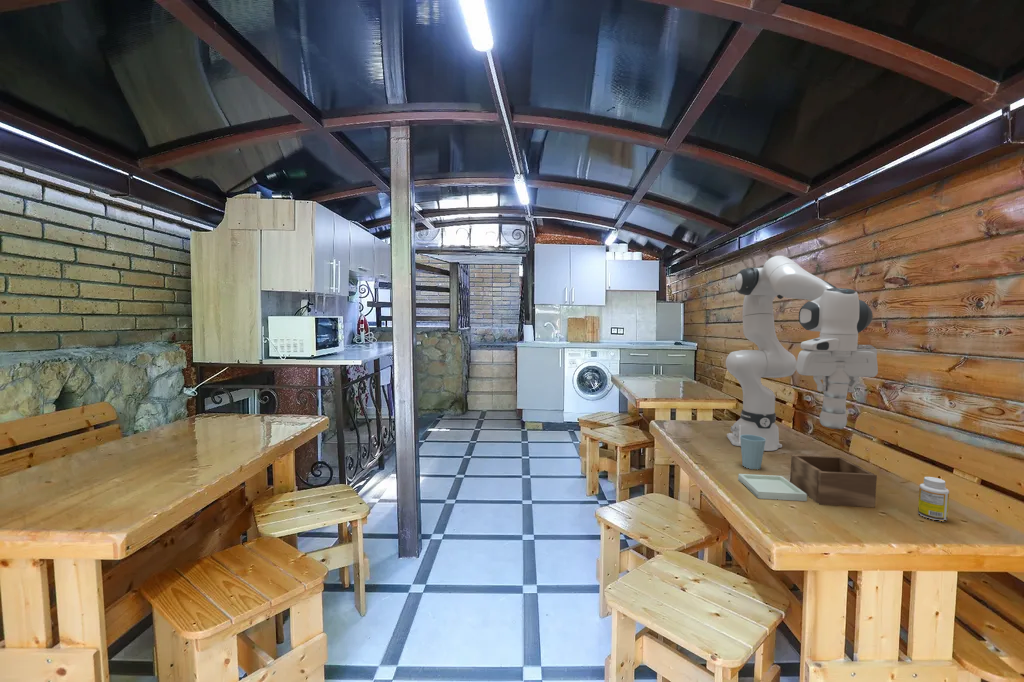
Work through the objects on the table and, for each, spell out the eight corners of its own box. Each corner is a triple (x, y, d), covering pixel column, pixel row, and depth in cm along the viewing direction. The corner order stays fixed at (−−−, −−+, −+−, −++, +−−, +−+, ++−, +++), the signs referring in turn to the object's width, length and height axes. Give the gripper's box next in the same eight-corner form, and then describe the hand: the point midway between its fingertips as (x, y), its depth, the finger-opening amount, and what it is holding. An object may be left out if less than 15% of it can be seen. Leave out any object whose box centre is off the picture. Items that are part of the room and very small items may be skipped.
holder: (789, 482, 134) (791, 454, 133) (838, 485, 132) (840, 456, 131) (819, 504, 118) (820, 472, 118) (875, 507, 117) (877, 475, 116)
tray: (738, 479, 136) (738, 473, 136) (781, 481, 134) (781, 475, 134) (758, 498, 122) (758, 491, 122) (806, 501, 120) (807, 494, 120)
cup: (768, 468, 146) (770, 438, 146) (757, 472, 142) (758, 442, 142) (746, 461, 153) (747, 433, 152) (735, 466, 148) (736, 436, 148)
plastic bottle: (840, 425, 127) (845, 359, 125) (850, 432, 120) (856, 362, 118) (815, 424, 128) (819, 358, 127) (824, 430, 122) (829, 361, 120)
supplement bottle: (930, 512, 114) (932, 475, 114) (953, 522, 109) (956, 483, 108) (911, 512, 114) (914, 475, 113) (934, 522, 108) (936, 483, 108)
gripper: (869, 344, 124) (866, 390, 125) (794, 342, 127) (792, 388, 128) (885, 345, 118) (882, 394, 119) (806, 344, 121) (804, 392, 121)
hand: (835, 391), depth 123 cm, fingers closed on plastic bottle, 6 cm apart
